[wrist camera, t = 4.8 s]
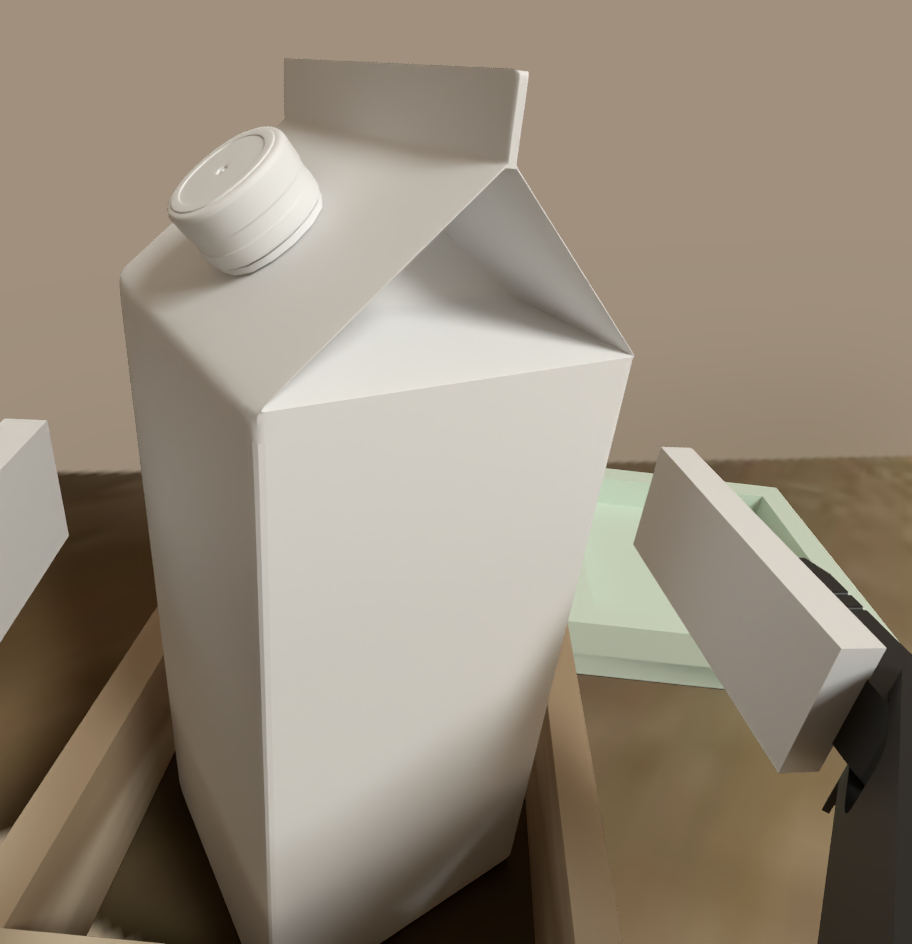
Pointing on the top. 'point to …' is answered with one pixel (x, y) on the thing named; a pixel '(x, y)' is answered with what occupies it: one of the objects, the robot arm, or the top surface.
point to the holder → (148, 755)
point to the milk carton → (365, 488)
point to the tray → (658, 588)
